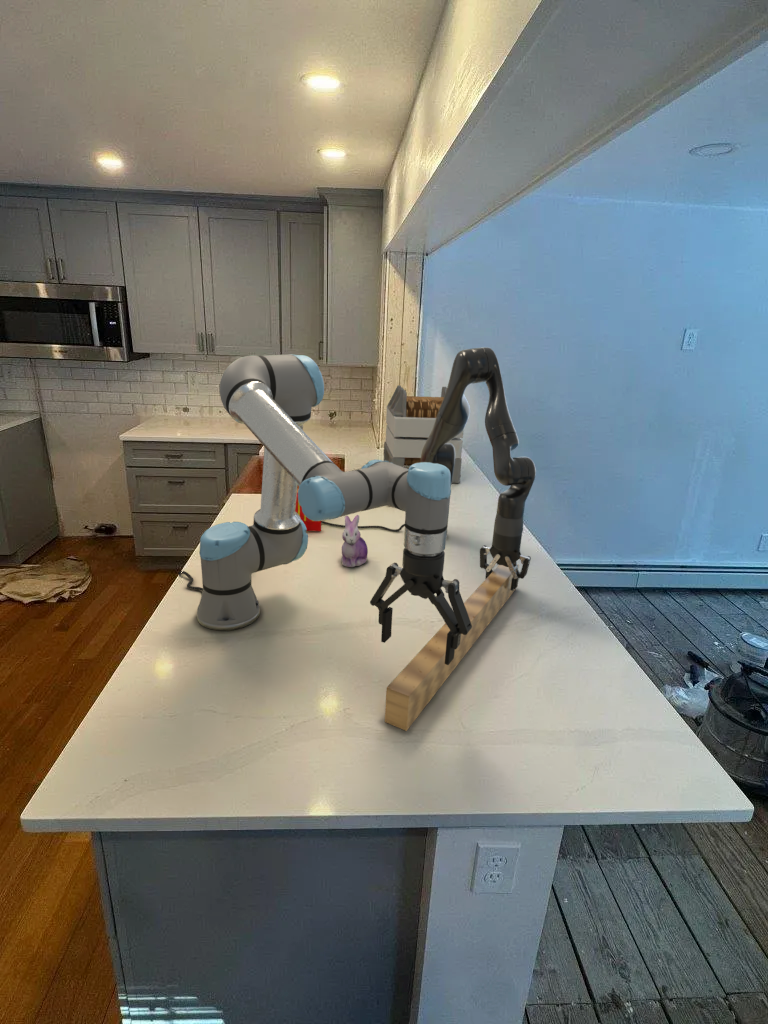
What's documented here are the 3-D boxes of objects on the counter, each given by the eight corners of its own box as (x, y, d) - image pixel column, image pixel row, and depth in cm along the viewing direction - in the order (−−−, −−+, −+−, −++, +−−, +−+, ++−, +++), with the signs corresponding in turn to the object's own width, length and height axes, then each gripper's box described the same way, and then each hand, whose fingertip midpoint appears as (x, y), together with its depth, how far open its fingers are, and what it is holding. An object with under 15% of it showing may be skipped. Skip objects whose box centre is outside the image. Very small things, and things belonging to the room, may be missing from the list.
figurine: (346, 570, 170) (347, 523, 165) (333, 557, 178) (334, 512, 173) (374, 565, 174) (376, 519, 169) (360, 552, 183) (362, 509, 178)
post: (499, 585, 166) (502, 560, 163) (515, 589, 163) (518, 564, 161) (384, 722, 109) (386, 687, 106) (406, 731, 107) (409, 696, 104)
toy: (330, 481, 223) (325, 494, 194) (330, 514, 226) (324, 532, 196) (299, 480, 222) (289, 493, 193) (299, 513, 225) (289, 531, 196)
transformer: (382, 463, 289) (386, 382, 275) (445, 464, 293) (451, 384, 279) (390, 482, 257) (394, 392, 243) (460, 483, 261) (468, 394, 247)
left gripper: (354, 540, 105) (351, 639, 112) (482, 573, 94) (470, 681, 101) (375, 527, 111) (371, 622, 118) (497, 558, 100) (484, 660, 107)
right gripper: (477, 528, 152) (471, 584, 157) (530, 540, 145) (522, 598, 151) (487, 520, 158) (481, 574, 164) (538, 531, 151) (530, 587, 157)
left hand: (416, 649), depth 110 cm, fingers open, 13 cm apart
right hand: (500, 586), depth 157 cm, fingers open, 6 cm apart
